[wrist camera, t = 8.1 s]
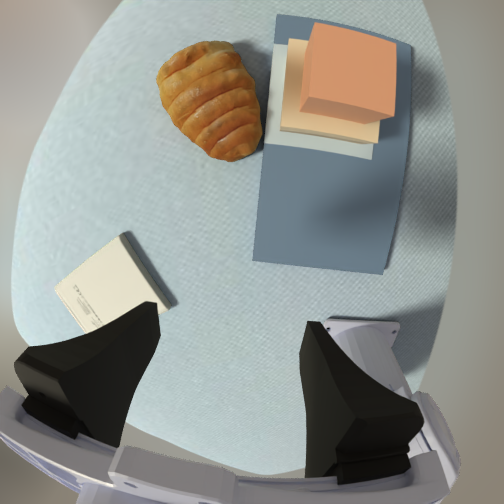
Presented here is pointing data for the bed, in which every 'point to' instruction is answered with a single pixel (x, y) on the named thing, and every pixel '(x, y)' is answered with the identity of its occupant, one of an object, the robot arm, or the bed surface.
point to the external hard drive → (109, 286)
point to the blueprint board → (330, 177)
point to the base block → (312, 122)
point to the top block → (348, 75)
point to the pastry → (212, 99)
